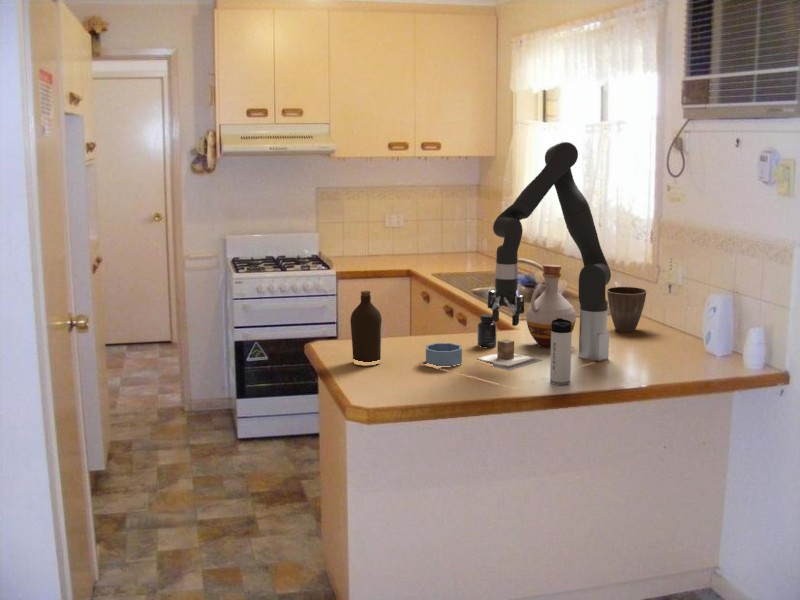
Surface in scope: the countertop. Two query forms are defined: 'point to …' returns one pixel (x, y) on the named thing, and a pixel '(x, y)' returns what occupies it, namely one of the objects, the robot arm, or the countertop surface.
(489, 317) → the supplement bottle
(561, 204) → the robot arm
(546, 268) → the jug
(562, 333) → the travel mug
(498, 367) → the mat
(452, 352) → the bowl
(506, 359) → the lid
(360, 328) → the olive oil
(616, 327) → the plant pot
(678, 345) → the countertop surface
